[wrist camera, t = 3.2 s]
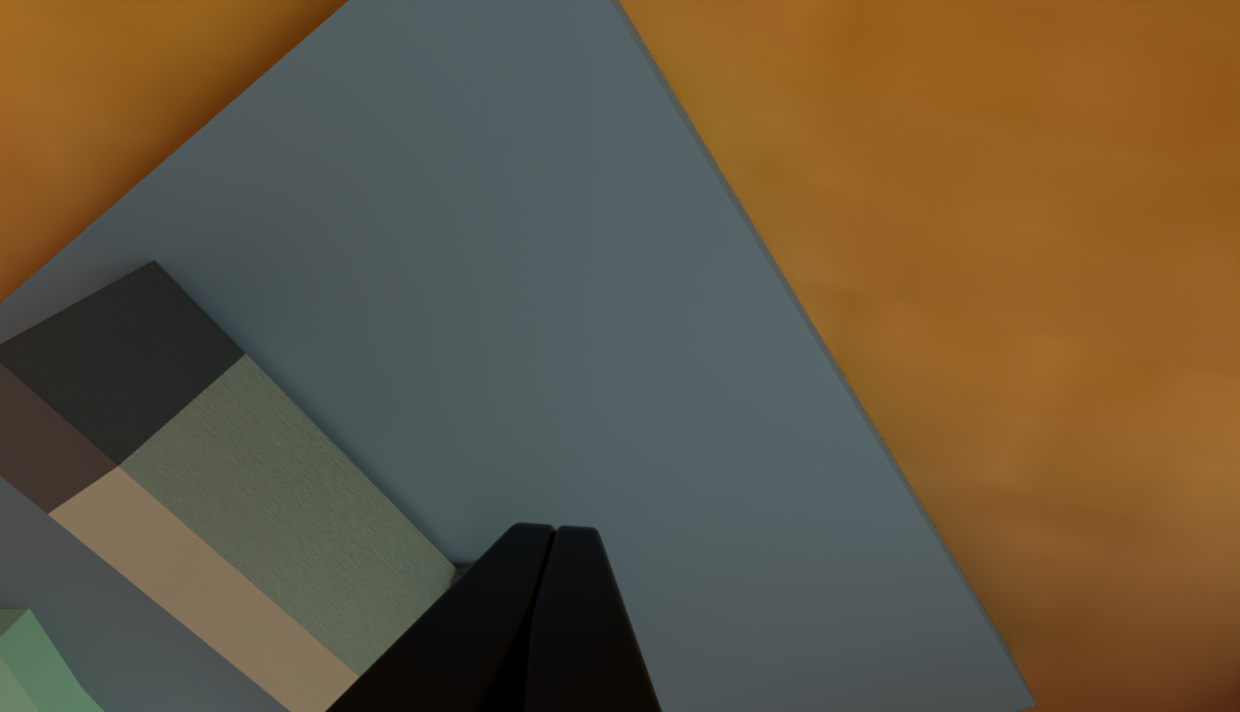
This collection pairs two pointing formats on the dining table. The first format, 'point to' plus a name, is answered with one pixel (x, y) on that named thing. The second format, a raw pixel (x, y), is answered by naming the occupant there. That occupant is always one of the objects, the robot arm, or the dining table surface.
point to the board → (517, 370)
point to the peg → (211, 489)
